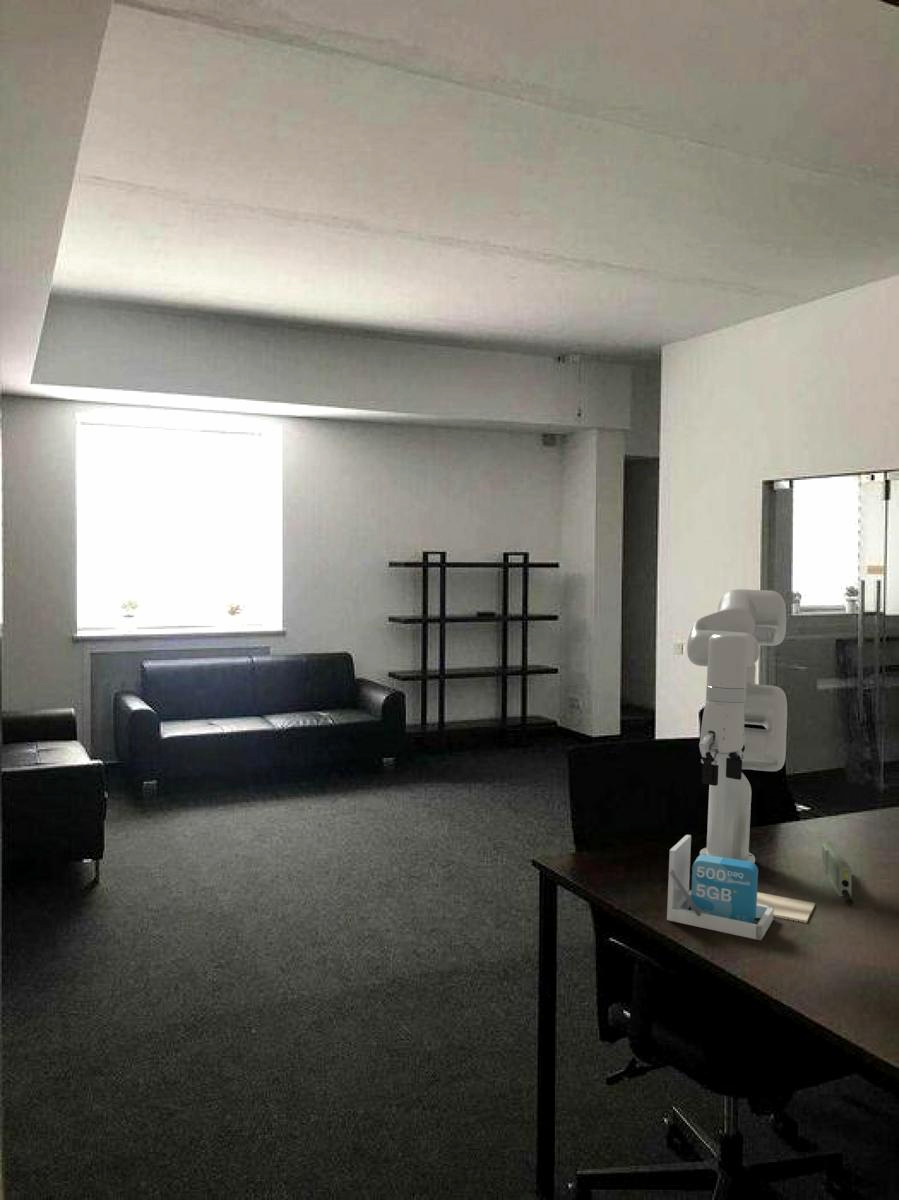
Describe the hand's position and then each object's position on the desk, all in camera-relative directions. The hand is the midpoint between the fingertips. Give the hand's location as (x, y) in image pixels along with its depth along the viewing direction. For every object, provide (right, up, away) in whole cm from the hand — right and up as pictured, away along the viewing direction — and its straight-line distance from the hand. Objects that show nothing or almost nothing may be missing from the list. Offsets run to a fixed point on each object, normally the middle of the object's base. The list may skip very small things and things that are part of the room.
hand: (721, 781), depth 192 cm
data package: (0, -27, -2) cm, 27 cm away
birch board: (+11, -27, +7) cm, 30 cm away
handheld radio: (+31, -27, +19) cm, 46 cm away
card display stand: (0, -27, -2) cm, 27 cm away
